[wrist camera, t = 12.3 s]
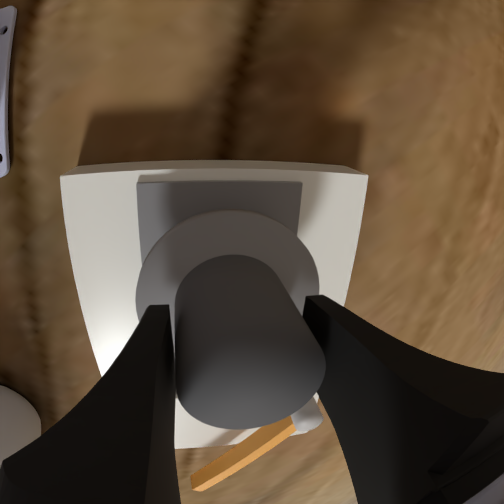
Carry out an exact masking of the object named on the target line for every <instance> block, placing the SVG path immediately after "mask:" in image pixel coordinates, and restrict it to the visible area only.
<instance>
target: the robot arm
mask: <svg viewBox="0 0 504 504" xmlns="http://www.w3.org/2000/svg"><path fill="white" fill-rule="evenodd" d="M16 15H17V9H16V8H15V7H13V6H7V7H4V8H2V9H0V154H1V155H2V157H3V161H2V162H1V161H0V177H3V176H5V175H7V173H8V172H9V170H10V160H9V144H8V85H9V69H10V58H11V49H12V41H13V33H14V27H15V21H16ZM7 27H8V30H7V32H6V33H5V34H4V35H3V32H4V30H5V29H6V28H7ZM302 317H303V319H304V320H305V322H306V324H307V325H308V327H309V329H310V330H311V332H312V334H313V335H314V337H315V339H316V340H317V342H318V344H319V345H320V347H321V349H322V351H323V353H324V356H325V361H326V370H325V375H324V378H323V381H322V383H321V385H320V387H319V389H318V390H317V394H318V396H319V398H320V400H321V402H322V404H323V406H324V408H325V410H326V412H327V414H328V416H329V417H330V419H331V422H332V424H333V426H334V428H335V431H336V433H337V436H338V439H339V442H340V445H341V447H342V450H343V453H344V456H345V459H346V462H347V466H348V469H349V472H350V475H351V479H352V482H353V486H354V490H355V493H356V497H357V501H358V504H504V373H498V372H491V371H485V370H480V369H476V368H472V367H468V366H464V365H460V364H457V363H454V362H451V361H448V360H445V359H442V358H439V357H436V356H434V355H431V354H428V353H426V352H424V351H421V350H419V349H417V348H415V347H413V346H410V345H408V344H406V343H404V342H402V341H400V340H398V339H396V338H395V337H393V336H391V335H389V334H387V333H385V332H384V331H382V330H380V329H378V328H377V327H375V326H373V325H372V324H370V323H368V322H367V321H365V320H364V319H362V318H360V317H359V316H357V315H356V314H354V313H353V312H351V311H349V310H348V309H346V308H345V307H343V306H342V305H340V304H338V303H337V302H335V301H334V300H332V299H330V298H328V297H327V296H325V295H312V296H306V297H305V303H304V309H303V315H302ZM175 401H176V377H175V353H174V345H173V336H172V327H171V317H170V307H169V304H163V305H149V306H148V307H147V308H146V310H145V312H144V314H143V316H142V318H141V320H140V322H139V323H138V325H137V327H136V329H135V330H134V332H133V334H132V335H131V337H130V338H129V340H128V341H127V343H126V345H125V346H124V348H123V349H122V351H121V352H120V354H119V355H118V356H117V358H116V359H115V360H114V362H113V363H112V365H111V366H110V367H109V369H108V370H107V371H106V373H105V374H104V375H103V376H102V378H101V379H100V380H99V381H98V382H97V383H96V385H95V386H94V387H93V388H92V389H91V390H90V391H89V393H88V394H87V395H86V396H85V397H84V398H83V399H82V400H81V401H80V402H79V403H78V404H77V405H76V406H75V407H74V408H73V409H72V410H71V411H70V412H69V413H68V414H66V415H65V416H64V417H63V418H62V419H61V420H60V421H58V422H57V423H56V424H55V425H53V426H52V427H51V428H50V429H49V430H47V431H46V432H45V433H44V434H42V435H41V436H40V437H38V438H37V439H35V440H34V441H33V442H31V443H30V444H28V445H27V446H25V447H23V448H22V449H20V450H19V451H17V452H16V453H14V454H12V455H11V456H9V457H8V458H6V459H4V460H3V461H2V464H1V467H0V504H181V500H180V493H179V486H178V478H177V469H176V460H175V444H174V435H175Z"/></svg>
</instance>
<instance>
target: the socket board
mask: <svg viewBox="0 0 504 504" xmlns="http://www.w3.org/2000/svg"><path fill="white" fill-rule="evenodd" d="M367 182H368V175H367V174H364V173H362V172H359V171H357V170H354V169H352V168H349V167H347V166H343V165H330V164H317V163H301V162H281V161H254V160H170V161H143V162H124V163H108V164H95V165H83V166H76V167H75V168H73V169H71V170H69V171H68V172H66V173H64V174H63V175H61V176H60V184H61V194H62V204H63V212H64V220H65V227H66V233H67V240H68V246H69V252H70V257H71V263H72V268H73V273H74V278H75V282H76V287H77V291H78V296H79V300H80V304H81V308H82V312H83V316H84V320H85V324H86V327H87V331H88V334H89V338H90V341H91V345H92V348H93V351H94V354H95V358H96V361H97V364H98V367H99V370H100V373H101V376H103V375H104V374H105V373H106V371H107V370H108V369H109V367H110V366H111V365H112V363H113V362H114V360H115V359H116V358H117V356H118V355H119V354H120V352H121V351H122V349H123V348H124V346H125V345H126V343H127V341H128V340H129V338H130V337H131V335H132V334H133V332H134V330H135V329H136V327H137V325H138V323H139V320H138V316H137V312H136V303H135V296H136V287H137V282H138V278H139V274H140V270H141V267H142V265H143V262H144V260H145V258H146V256H147V255H148V253H149V251H150V250H151V248H152V247H153V246H154V245H155V243H156V242H157V241H158V240H159V239H160V238H161V237H162V236H163V235H164V234H165V233H166V232H167V231H168V230H170V229H171V228H173V227H174V226H175V225H177V224H178V223H180V222H182V221H184V220H186V219H188V218H190V217H192V216H195V215H198V214H201V213H204V212H208V211H213V210H220V209H244V210H250V211H255V212H258V213H261V214H264V215H267V216H269V217H271V218H273V219H275V220H277V221H279V222H280V223H282V224H283V225H285V226H286V227H288V228H289V229H290V230H291V231H292V232H293V233H294V234H295V235H296V236H297V237H298V238H299V239H300V240H301V241H302V242H303V244H304V245H305V246H306V247H307V249H308V250H309V252H310V254H311V256H312V257H313V259H314V262H315V265H316V267H317V271H318V276H319V287H320V289H319V295H325V296H327V297H328V298H330V299H332V300H334V301H335V302H337V303H338V304H340V305H342V306H343V307H344V303H345V299H346V295H347V290H348V286H349V281H350V277H351V272H352V267H353V263H354V258H355V253H356V248H357V242H358V237H359V231H360V226H361V220H362V214H363V208H364V202H365V196H366V189H367ZM313 397H314V399H315V401H316V403H317V401H318V398H319V396H318V394H317V392H316V393H315V395H314V396H313ZM259 428H261V427H258V428H252V429H242V430H233V429H223V428H217V427H213V426H210V425H207V424H205V423H202V422H200V421H198V420H197V419H195V418H194V417H192V416H191V415H190V414H189V413H188V412H187V411H185V409H184V408H183V407H182V405H181V404H180V402H179V400H178V397H177V393H176V401H175V435H174V444H175V449H177V448H197V447H210V446H222V445H231V444H239V443H240V442H242V441H243V440H244V439H246V438H247V437H249V436H250V435H251V434H253V433H254V432H255V431H257V430H258V429H259ZM307 432H308V431H298V430H297V431H295V432H294V433H293V434H291V435H290V436H292V435H297V434H302V433H307Z"/></svg>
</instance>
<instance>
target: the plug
mask: <svg viewBox="0 0 504 504" xmlns="http://www.w3.org/2000/svg"><path fill="white" fill-rule="evenodd" d="M319 289H320V287H319V276H318V271H317V267H316V265H315V262H314V259H313V257H312V256H311V254H310V252H309V250H308V249H307V247H306V246H305V245H304V244H303V242H302V241H301V240H300V239H299V238H298V237H297V236H296V235H295V234H294V233H293V232H292V231H291V230H290V229H289V228H288V227H286V226H285V225H283V224H282V223H280V222H279V221H277V220H275V219H273V218H271V217H269V216H267V215H264V214H261V213H258V212H255V211H250V210H244V209H220V210H213V211H208V212H204V213H201V214H198V215H195V216H192V217H190V218H188V219H186V220H184V221H182V222H180V223H178V224H177V225H175V226H174V227H173V228H171V229H170V230H168V231H167V232H166V233H165V234H164V235H163V236H162V237H161V238H160V239H159V240H158V241H157V242H156V243H155V245H154V246H153V247H152V248H151V250H150V251H149V253H148V255H147V256H146V258H145V260H144V262H143V265H142V267H141V270H140V274H139V278H138V282H137V287H136V296H135V303H136V312H137V316H138V320H139V322H140V320H141V318H142V316H143V314H144V312H145V310H146V308H147V307H148V306H149V305H163V304H169V307H170V317H171V327H172V336H173V345H174V353H175V377H176V393H177V397H178V400H179V402H180V404H181V405H182V407H183V408H184V409H185V411H187V412H188V413H189V414H190V415H191V416H192V417H194V418H195V419H197V420H198V421H200V422H202V423H205V424H207V425H210V426H213V427H217V428H223V429H233V430H242V429H252V428H258V427H262V426H266V425H269V424H272V423H275V422H278V421H280V420H282V419H284V418H286V417H288V416H290V415H292V414H293V413H295V412H296V411H298V410H299V409H300V408H302V407H303V406H304V405H305V404H306V403H307V402H308V401H309V400H310V399H311V398H312V397H313V396H314V395H315V393H316V392H317V390H318V389H319V387H320V385H321V383H322V381H323V378H324V375H325V370H326V361H325V356H324V353H323V351H322V349H321V347H320V345H319V344H318V342H317V340H316V339H315V337H314V335H313V334H312V332H311V330H310V329H309V327H308V325H307V324H306V322H305V320H304V319H303V317H302V315H303V309H304V303H305V297H306V296H312V295H319Z"/></svg>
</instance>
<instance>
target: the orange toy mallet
mask: <svg viewBox="0 0 504 504" xmlns="http://www.w3.org/2000/svg"><path fill="white" fill-rule="evenodd" d="M322 421H323V416H322V414H321V412H320V409H319V407H318V405H317V403H316V401H315V399H314V397H312V398H311V399H310V400H309V401H308V402H307V403H306V404H305V405H304V406H303V407H302V408H300V409H299V410H298V411H296V412H295V413H293V414H292V415H290V416H288V417H286V418H284V419H282V420H280V421H278V422H275V423H272V424H269V425H266V426H262V427H261V428H259V429H258V430H257V431H255V432H254V433H253V434H251V435H250V436H249V437H247V438H246V439H244V440H243V441H242V442H240V443H239V444H237V445H236V446H235V447H233V448H232V449H230V450H229V451H227V452H226V453H225V454H223V455H222V456H220V457H219V458H217V459H216V460H214V461H213V462H211V463H210V464H208V465H207V466H205V467H204V468H202V469H200V470H199V471H197V472H196V473H194V474H193V475H191V484H192V490H196V491H204V490H205V489H207V488H209V487H211V486H212V485H214V484H216V483H218V482H219V481H221V480H223V479H225V478H226V477H228V476H230V475H231V474H233V473H235V472H236V471H238V470H239V469H241V468H243V467H244V466H246V465H247V464H249V463H250V462H252V461H254V460H255V459H257V458H258V457H260V456H261V455H263V454H264V453H266V452H267V451H269V450H270V449H271V448H273V447H274V446H276V445H277V444H279V443H280V442H281V441H283V440H284V439H286V438H287V437H288V436H290V435H291V434H293V433H294V432H295V431H297V430H298V431H308V430H311V429H314V428H316V427H317V426H319V425H320V424H321V423H322Z"/></svg>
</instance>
